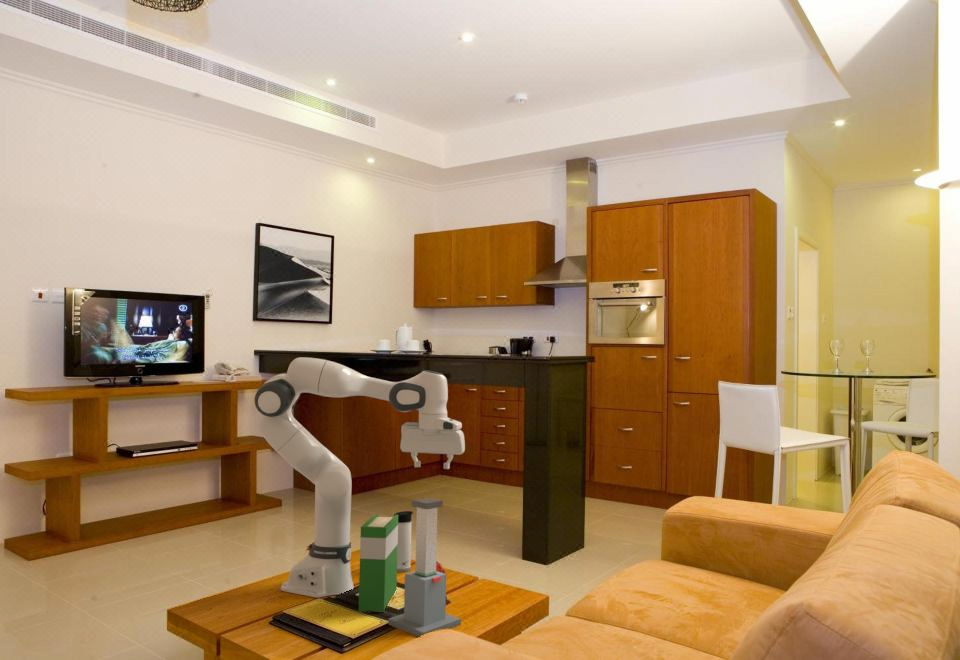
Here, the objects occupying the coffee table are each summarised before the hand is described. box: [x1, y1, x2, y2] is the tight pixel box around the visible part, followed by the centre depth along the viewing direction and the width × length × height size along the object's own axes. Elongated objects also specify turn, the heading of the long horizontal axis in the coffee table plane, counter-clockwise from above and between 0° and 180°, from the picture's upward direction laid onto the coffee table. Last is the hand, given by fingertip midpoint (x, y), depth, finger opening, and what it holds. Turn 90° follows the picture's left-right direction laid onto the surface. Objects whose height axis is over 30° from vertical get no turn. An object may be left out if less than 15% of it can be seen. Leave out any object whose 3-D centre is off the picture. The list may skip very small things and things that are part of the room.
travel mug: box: [393, 510, 414, 573], centre depth 239 cm, size 6×7×20 cm
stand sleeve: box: [387, 570, 462, 638], centre depth 188 cm, size 14×14×14 cm
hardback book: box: [357, 513, 398, 613], centre depth 206 cm, size 18×7×24 cm, turn 175°
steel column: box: [411, 497, 444, 578], centre depth 189 cm, size 6×6×26 cm
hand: (431, 467), depth 213 cm, fingers open, 8 cm apart
